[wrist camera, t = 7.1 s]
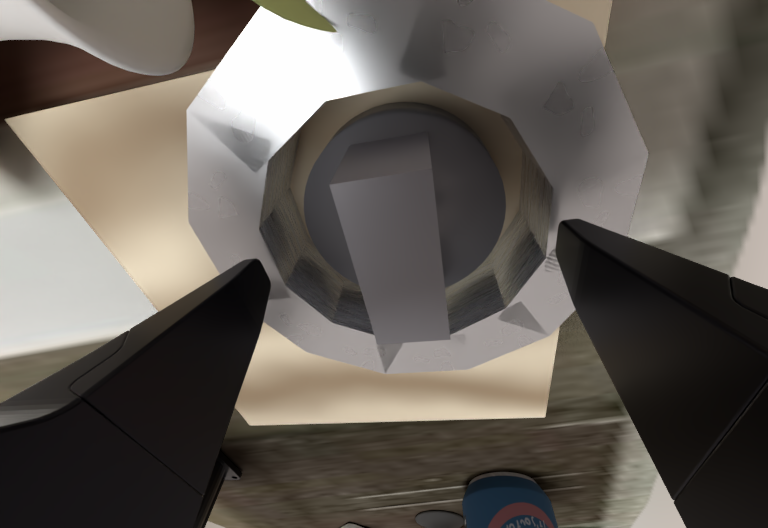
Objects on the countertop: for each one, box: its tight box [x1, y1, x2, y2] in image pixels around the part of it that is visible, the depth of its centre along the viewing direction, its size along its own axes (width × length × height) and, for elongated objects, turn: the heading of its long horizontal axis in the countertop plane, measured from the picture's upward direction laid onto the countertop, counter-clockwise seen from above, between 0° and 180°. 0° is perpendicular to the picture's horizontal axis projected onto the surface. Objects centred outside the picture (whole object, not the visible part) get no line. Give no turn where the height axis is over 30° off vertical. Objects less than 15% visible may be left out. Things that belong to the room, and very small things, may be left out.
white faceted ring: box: [186, 0, 649, 374], centre depth 11 cm, size 12×12×3 cm
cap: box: [304, 102, 506, 345], centre depth 10 cm, size 6×6×4 cm
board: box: [4, 0, 612, 426], centre depth 16 cm, size 20×19×1 cm
